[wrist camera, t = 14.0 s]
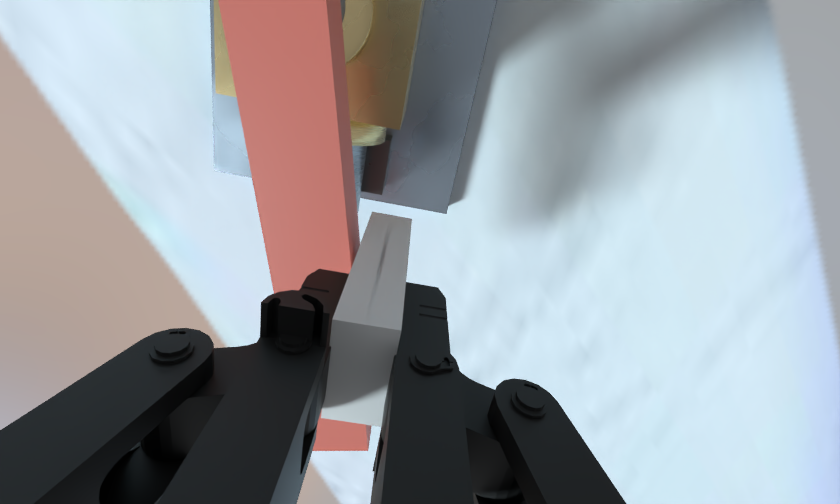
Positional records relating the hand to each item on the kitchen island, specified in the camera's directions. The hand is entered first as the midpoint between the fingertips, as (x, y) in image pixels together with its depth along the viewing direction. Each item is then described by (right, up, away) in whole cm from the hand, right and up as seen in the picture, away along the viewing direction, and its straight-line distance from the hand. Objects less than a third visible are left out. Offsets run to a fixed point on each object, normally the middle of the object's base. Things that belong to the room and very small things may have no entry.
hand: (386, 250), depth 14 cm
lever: (-2, +1, +1) cm, 3 cm away
